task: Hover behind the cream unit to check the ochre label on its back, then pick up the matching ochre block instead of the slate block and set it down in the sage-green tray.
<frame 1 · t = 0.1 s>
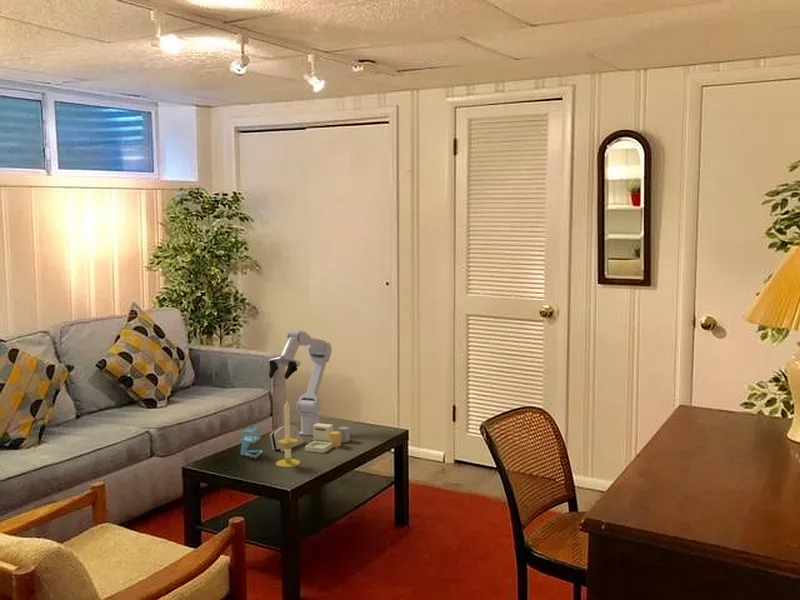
hand: (277, 377, 341), 32 cm above the table, tool tilted 50°, fingers open, 7 cm apart
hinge: (286, 446, 351), on the table
slate block: (343, 440, 358), on the table
candle: (288, 463, 326), on the table
sage tray: (318, 449, 345), on the table
ochre block: (335, 445, 350), on the table
cream unit: (323, 440, 358), on the table
chair: (250, 455, 338), on the table
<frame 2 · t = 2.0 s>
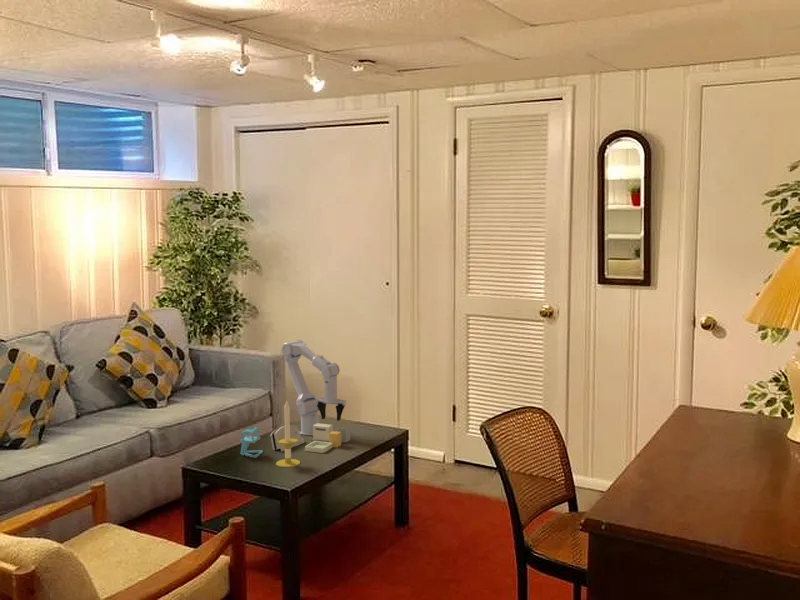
hand: (331, 419, 360), 9 cm above the table, tool pointing down, fingers open, 7 cm apart
nothing on the table moved.
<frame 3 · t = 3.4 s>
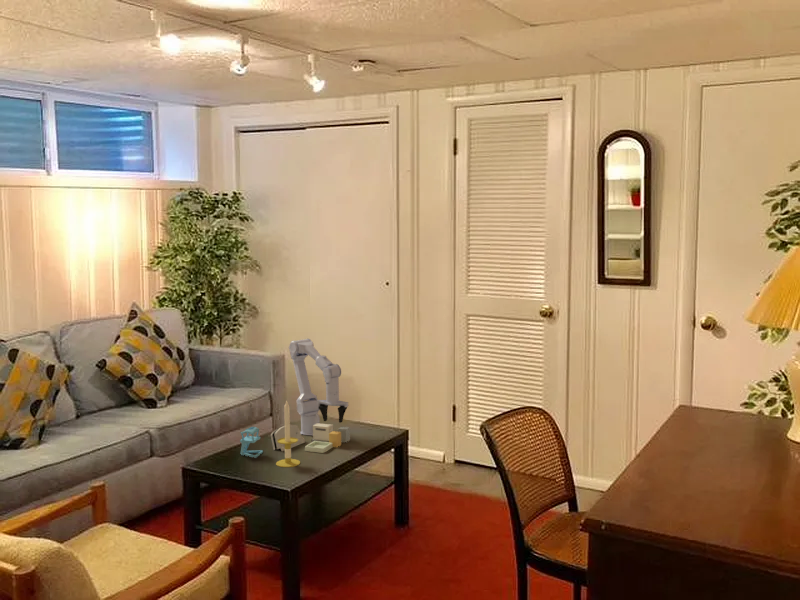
hand: (333, 421, 356), 9 cm above the table, tool pointing down, fingers open, 7 cm apart
nothing on the table moved.
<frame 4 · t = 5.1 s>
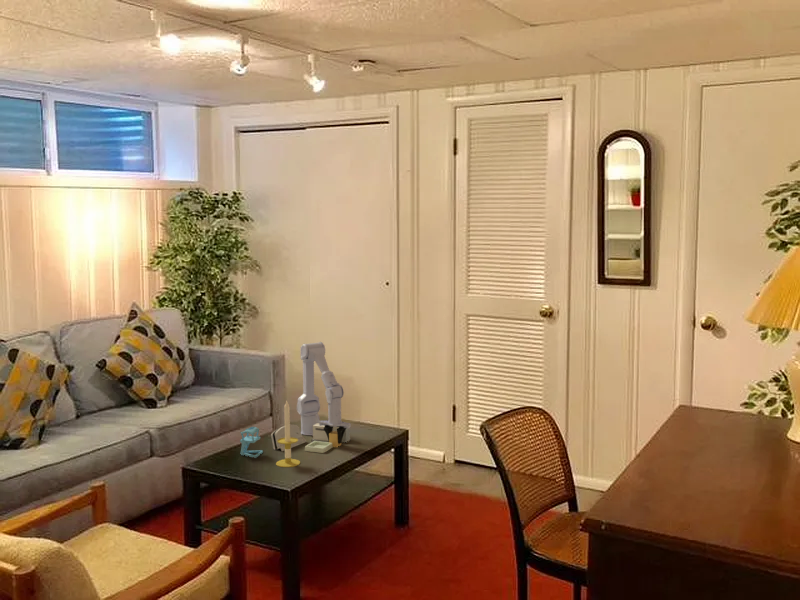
hand: (335, 442, 350), 1 cm above the table, tool pointing down, fingers closed on ochre block, 4 cm apart
ochre block: (335, 445, 350), on the table, touching gripper
everything else where it was.
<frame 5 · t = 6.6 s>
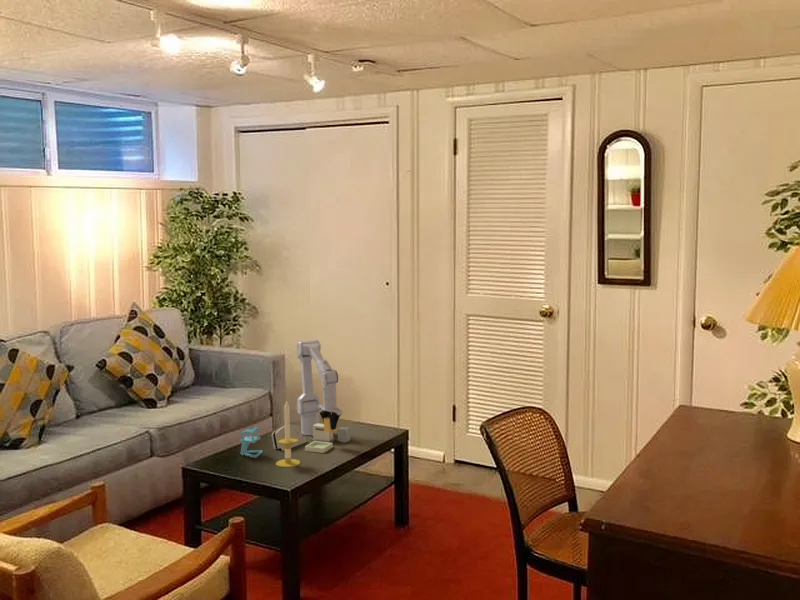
hand: (330, 428, 348), 8 cm above the table, tool pointing down, fingers closed on ochre block, 4 cm apart
ochre block: (330, 431, 348), point 7 cm above the table, touching gripper
when the fingers open (4 cm above the table, at t = 8.2 s): ochre block drops 1 cm, resting on sage tray.
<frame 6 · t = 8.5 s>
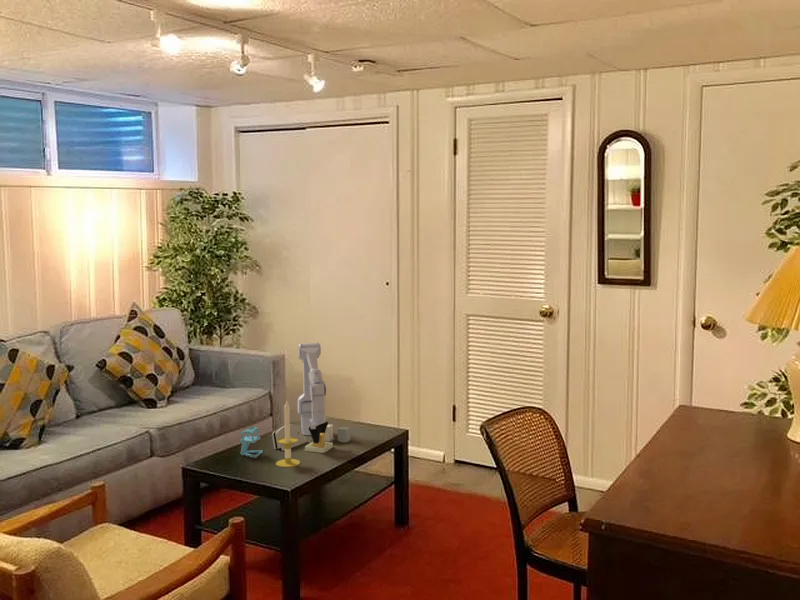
hand: (318, 440, 345), 4 cm above the table, tool pointing down, fingers open, 6 cm apart
ochre block: (319, 447, 345), point 1 cm above the table, touching sage tray
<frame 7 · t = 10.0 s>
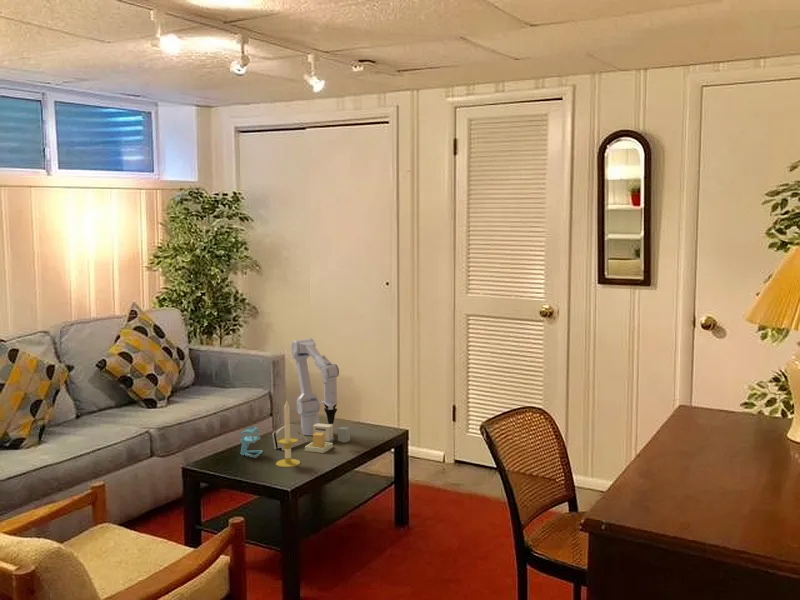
hand: (330, 421, 353), 10 cm above the table, tool pointing down, fingers open, 7 cm apart
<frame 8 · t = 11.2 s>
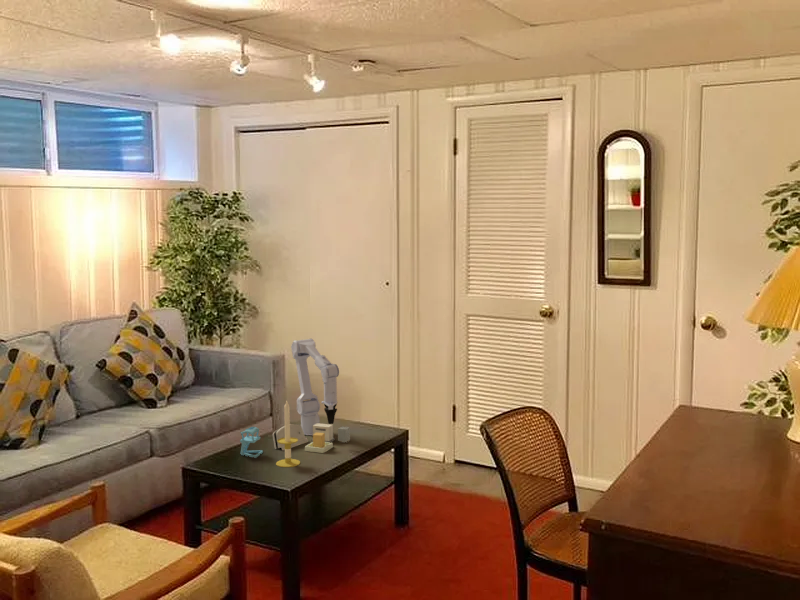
hand: (330, 421, 353), 10 cm above the table, tool pointing down, fingers open, 7 cm apart
at the end: ochre block 0.1 cm off-centre on the sage tray, point 0.8 cm above the sage tray's base; ochre block tilted 0°; slate block moved 0.1 cm from its start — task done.
